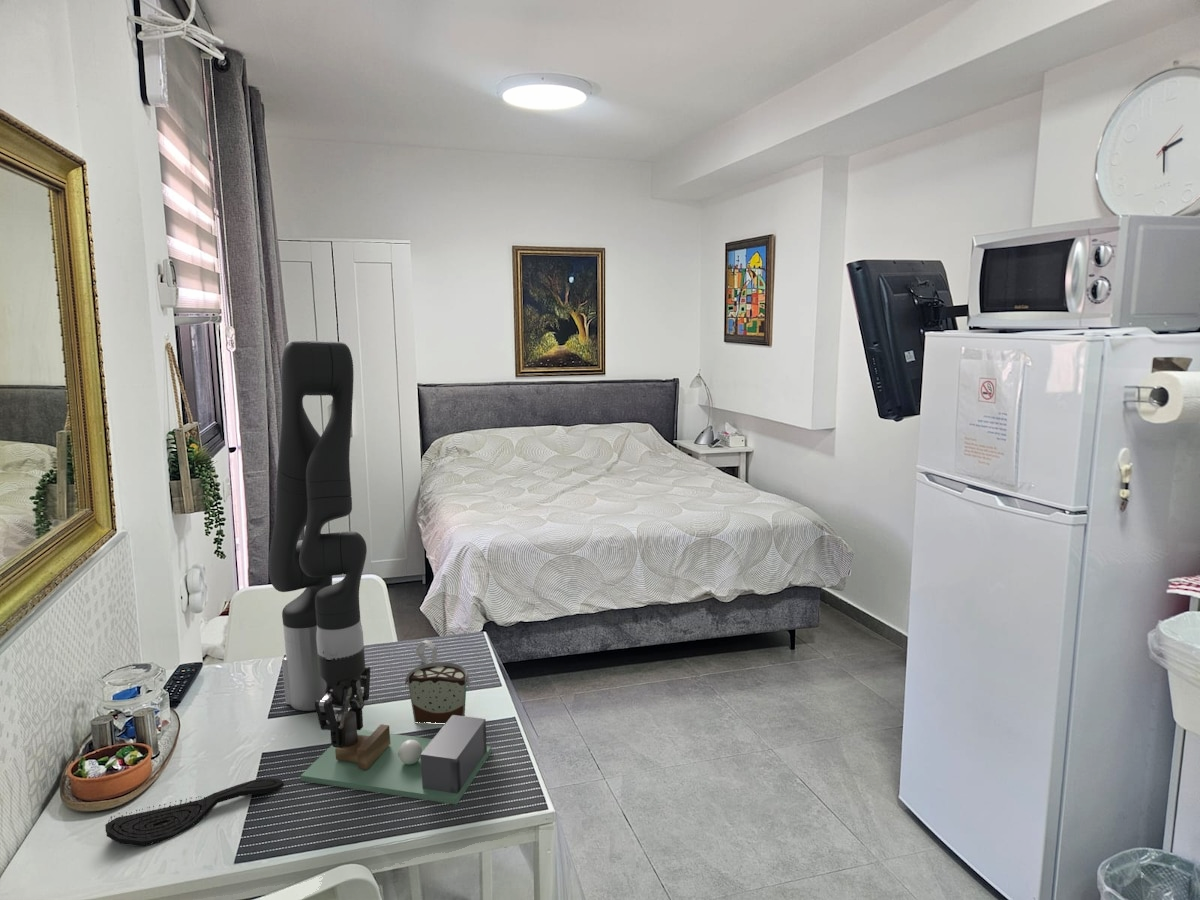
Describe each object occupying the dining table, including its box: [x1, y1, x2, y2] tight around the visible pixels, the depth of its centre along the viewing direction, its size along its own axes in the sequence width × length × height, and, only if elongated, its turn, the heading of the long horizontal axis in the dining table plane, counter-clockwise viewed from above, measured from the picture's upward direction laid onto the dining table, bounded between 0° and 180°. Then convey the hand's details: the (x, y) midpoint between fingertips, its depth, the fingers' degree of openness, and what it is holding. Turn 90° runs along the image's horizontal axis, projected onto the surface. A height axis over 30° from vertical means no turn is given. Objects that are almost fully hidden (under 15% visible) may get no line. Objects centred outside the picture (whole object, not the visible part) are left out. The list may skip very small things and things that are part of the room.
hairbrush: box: [104, 778, 284, 848], centre depth 123 cm, size 8×4×25 cm
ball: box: [398, 739, 422, 765], centre depth 134 cm, size 4×4×4 cm
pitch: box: [300, 729, 492, 805], centre depth 135 cm, size 28×15×1 cm, turn 76°
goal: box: [420, 715, 488, 794], centre depth 132 cm, size 6×12×6 cm, turn 166°
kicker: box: [335, 710, 391, 770], centre depth 136 cm, size 7×8×7 cm
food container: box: [404, 661, 471, 723], centre depth 150 cm, size 12×6×10 cm, turn 84°
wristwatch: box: [414, 639, 438, 664], centre depth 172 cm, size 3×5×5 cm, turn 54°
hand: (347, 737), depth 136 cm, fingers open, 5 cm apart
